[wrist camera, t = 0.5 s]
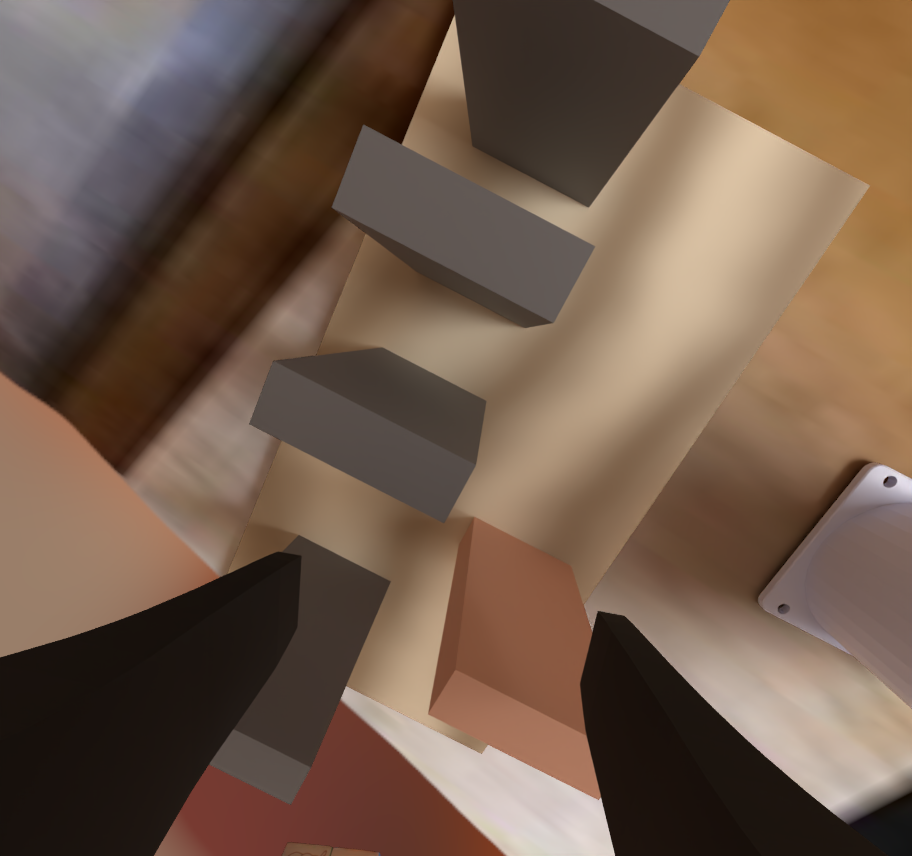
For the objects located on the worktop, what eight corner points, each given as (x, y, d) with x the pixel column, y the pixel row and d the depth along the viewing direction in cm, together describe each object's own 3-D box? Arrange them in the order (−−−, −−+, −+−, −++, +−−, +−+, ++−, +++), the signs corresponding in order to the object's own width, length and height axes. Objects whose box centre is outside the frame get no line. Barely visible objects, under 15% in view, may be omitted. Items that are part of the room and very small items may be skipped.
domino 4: (474, 516, 19) (455, 669, 10) (571, 565, 19) (632, 758, 11) (458, 544, 20) (428, 714, 11) (553, 592, 20) (598, 800, 11)
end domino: (299, 534, 20) (148, 687, 12) (390, 581, 20) (310, 767, 12) (287, 560, 21) (133, 727, 12) (377, 606, 21) (290, 805, 12)
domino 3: (382, 347, 18) (273, 360, 9) (486, 401, 18) (475, 464, 9) (367, 380, 18) (249, 423, 10) (469, 433, 18) (444, 523, 10)
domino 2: (433, 233, 17) (363, 124, 8) (544, 291, 17) (595, 246, 8) (416, 271, 17) (331, 207, 8) (525, 328, 17) (553, 323, 8)
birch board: (847, 194, 16) (869, 185, 15) (482, 736, 23) (481, 753, 22) (473, -5, 16) (471, -28, 15) (221, 605, 23) (209, 617, 22)
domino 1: (492, 101, 16) (485, -195, 7) (611, 165, 16) (756, -49, 7) (472, 146, 16) (441, -82, 7) (589, 207, 16) (698, 57, 7)
